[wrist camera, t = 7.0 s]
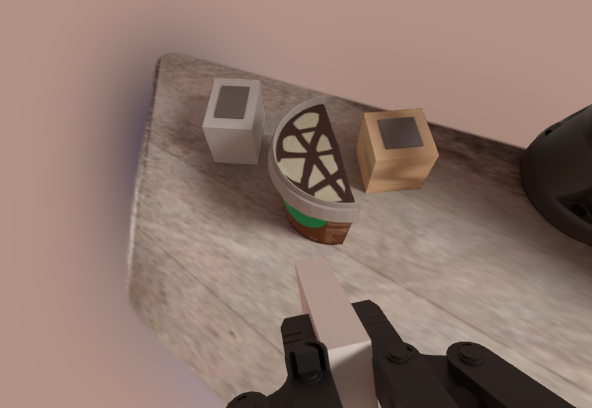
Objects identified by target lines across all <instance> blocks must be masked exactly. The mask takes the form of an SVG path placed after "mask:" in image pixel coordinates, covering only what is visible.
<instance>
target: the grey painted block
mask: <svg viewBox="0 0 592 408" xmlns="http://www.w3.org/2000/svg"><path fill="white" fill-rule="evenodd" d="M264 124H265V111H264V103H263V95H262V87H261V80H248V79H226V78H215V81H214V84H213V88H212V92H211V95H210V99H209V103H208V107H207V110H206V114H205V118H204V121H203V125H202V129H203V131H204V134H205V137H206V140H207V143H208V145H209V148H210V151H211V154H212V157H213V160H214V162H218V163H235V164H252V165H258V162H259V155H260V149H261V143H262V137H263V130H264Z"/></svg>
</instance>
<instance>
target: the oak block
mask: <svg viewBox="0 0 592 408" xmlns="http://www.w3.org/2000/svg"><path fill="white" fill-rule="evenodd" d="M356 153H357V158H358V162H359V166H360V171H361V175H362V179H363V184H364V188H365V192H366V193H377V192H388V191H399V190H410V189H420V188H421V186H422V185H423V183H424V181H425V179H426V178H427V176H428V174H429V172H430V171H431V169H432V167H433V165H434V163H435V162H436V160H437V158H438V156H439V154H438V151H437V148H436V145H435V143H434V140H433V137H432V135H431V132H430V129H429V127H428V124H427V121H426V119H425V116H424V113H423V111H422V109H421V108H419V109H407V110H394V111H382V112H370V113H364V114H363V119H362V123H361V128H360V132H359V136H358V141H357V145H356Z"/></svg>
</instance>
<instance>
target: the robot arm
mask: <svg viewBox="0 0 592 408" xmlns="http://www.w3.org/2000/svg"><path fill="white" fill-rule="evenodd" d="M520 174H521V180H522V183H523V186H524V189H525V191H526V193H527V195H528V197H529V198H530V200H531V202H532V203H533V204H534V206H535V207H536V208H537V209H538V211H539V212H540V213H541V214H542V215H543V216H544V217H545V218H546V219H547V220H548V221H549V222H551V223H552V224H553V225H554V226H556V227H557V228H558V229H560V230H561V231H563V232H564V233H566V234H568V235H569V236H571V237H573V238H575V239H577V240H579V241H581V242H583V243H586V244H588V245H591V246H592V104H591V105H589V106H587V107H585V108H583V109H582V110H580V111H578V112H576V113H574V114H572V115H570V116H569V117H567V118H565V119H563V120H562V121H560V122H558V123H556V124H554V125H552V126H550V127H549V128H547V129H546V130H544V131H543V132H542V133H541V134H540V135H538V137H537V138H536V139H535V140H534V141H533V142H532V143H531V144H530V145H529V147H528V148H527V149H526V151H525V152H524V154H523V157H522V160H521V165H520ZM295 268H296V274H297V280H298V286H299V292H300V298H301V305H302V311H303V315H299V316H295V317H290V318H285V319H284V321H283V323H282V325H281V333H282V339H283V345H284V351H285V362H286V368H287V373H288V376H287V379H286V382H285V383H284V385H283V386H282V387H281V388H280V389H279V390H277V391H276V392H274V393H273V394H271V395H269V396H267V397H266V396H265V395H263V394H262V393H260V392H252V391H251V392H246V393H243V394H241V395H239V396H237V397H235V398H234V399H233V400H232V401H231V402H230V403H229V404H228V405H227V407H226V408H378V401H379V403H380V405H381V408H576V407H574V406H573V405H571V404H570V403H568V402H567V401H565V400H564V399H562V398H561V397H559V396H558V395H556V394H555V393H553V392H552V391H550V390H549V389H547V388H546V387H544V386H543V385H541V384H540V383H538V382H537V381H535V380H534V379H532V378H531V377H529V376H528V375H526V374H525V373H523V372H522V371H520V370H519V369H517V368H516V367H514V366H513V365H511V364H510V363H508V362H507V361H505V360H504V359H502V358H501V357H499V356H498V355H496V354H495V353H493V352H492V351H490V350H489V349H487V348H486V347H484V346H482V345H480V344H477V343H472V342H458V343H454V344H452V345H451V346H450V347H448V350H447V352H446V355H447V356H442V355H424V354H421V353H419V351H418V350H417V349H416V348H415V347H414V346H412V345H410V344H408V343H405V342H403V341H402V339H401V338H400V336H399V335H398V333H397V332H396V330H395V329H394V328H393V326H392V325H391V323H390V322H389V321H388V319H387V317H386V316H385V314H384V313H383V312H382V310H381V309H380V307H379V306H378V305H377V304H375V303H373V302H372V301H370V300H365V301H361V302H356V303H350V301H349V299H348V298H347V296H346V294H345V292H344V290H343V289H342V287H341V285H340V283H339V281H338V279H337V278H336V276H335V274H334V272H333V270H332V269H331V267H330V265H329V263H328V261H327V259H326V258H325V257H320V258H315V259H310V260H305V261H300V262H295ZM377 399H378V400H377Z"/></svg>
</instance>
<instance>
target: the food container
mask: <svg viewBox="0 0 592 408" xmlns="http://www.w3.org/2000/svg"><path fill="white" fill-rule="evenodd" d="M325 104H326V95H323V96H318V97H315V98H312V99H309V100H306V101H304V102H302V103H300V104H299V105H297V106H296V107H294V108H293V109H291V110H290V111H289V112H288V113H287V114H286V115H285V116H284V118H283V119H282V120H281V121H280V123H279V125H278V126H277V128H276V130H275V132H274V134H273V137H272V140H271V144H270V149H269V154H268V169H269V173H270V177H271V180H272V182H273V184H274V186H275V188H276V189H277V191H278V192H279V193H280V195H281V196H282V198H283V203H284V207H285V211H286V215H287V218H288V220H289V222H290V224H291V225H292V226H293V228H294V229H295V230H296V231H297V232H298V233H299V234H301V235H302V236H303V237H305V238H307V239H309V240H311V241H314V242H317V243H320V244H326V245H337V244H343V242H344V239H345V237H346V235H347V233H348V231H349V228H350V226H351V224H352V222H358V219H359V212H360V209H359V205H360V202H355V201H354V197H353V195H352V193H351V190H350V186H349V183H348V180H347V176H346V173H345V169H344V166H343V162H342V158H341V154H340V151H339V147H338V144H337V142H336V139H335V136H334V133H333V131H332V128H331V124H330V121H329V118H328V115H327V112H326V109H325Z"/></svg>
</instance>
